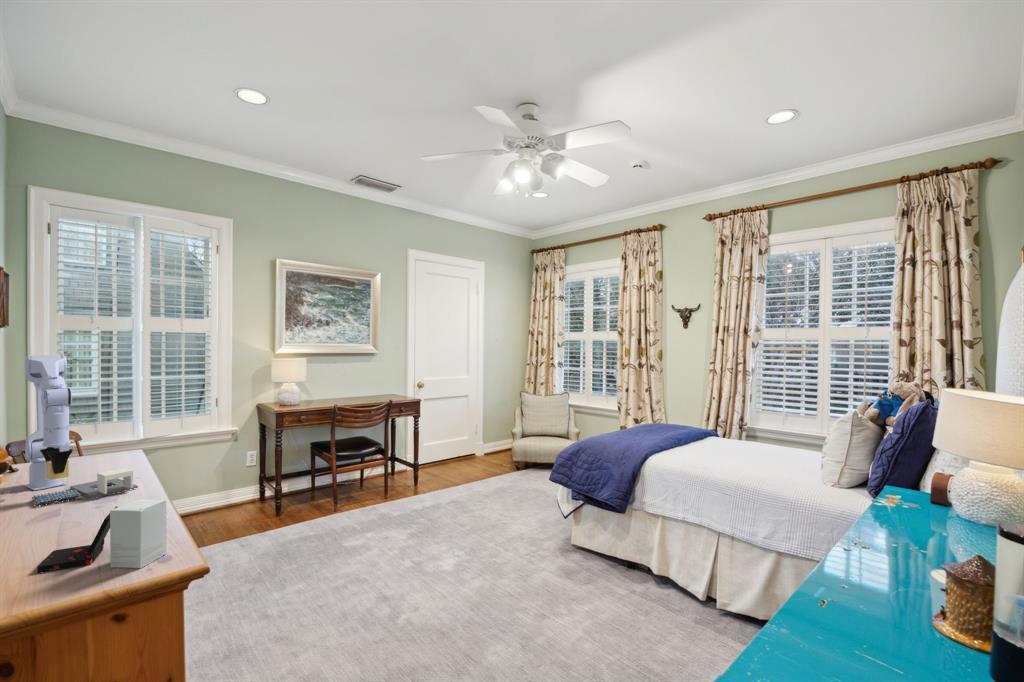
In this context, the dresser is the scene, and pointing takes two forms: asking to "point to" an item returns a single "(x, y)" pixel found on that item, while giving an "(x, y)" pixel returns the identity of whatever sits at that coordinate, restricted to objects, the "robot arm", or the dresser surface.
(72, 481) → the dresser surface
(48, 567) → the handheld gaming console
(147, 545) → the supplement box
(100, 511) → the dresser surface
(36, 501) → the woven mat
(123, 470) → the cover
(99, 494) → the puzzle board
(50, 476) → the ochre block
